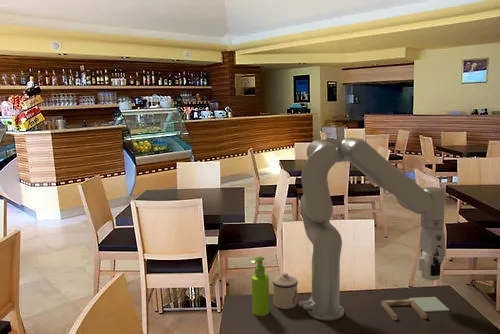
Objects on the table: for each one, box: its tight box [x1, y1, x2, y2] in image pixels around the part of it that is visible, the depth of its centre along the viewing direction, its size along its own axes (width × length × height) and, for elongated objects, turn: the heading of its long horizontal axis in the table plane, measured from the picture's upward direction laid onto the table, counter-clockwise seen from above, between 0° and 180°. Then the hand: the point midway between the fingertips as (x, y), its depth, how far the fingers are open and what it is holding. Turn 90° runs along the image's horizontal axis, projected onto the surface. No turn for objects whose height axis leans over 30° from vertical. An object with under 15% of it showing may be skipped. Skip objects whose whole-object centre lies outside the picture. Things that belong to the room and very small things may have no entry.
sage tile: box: [408, 296, 450, 313], centre depth 149 cm, size 10×10×1 cm
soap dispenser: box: [250, 256, 270, 317], centre depth 145 cm, size 6×7×20 cm
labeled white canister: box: [416, 251, 441, 281], centre depth 147 cm, size 6×8×9 cm
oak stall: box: [380, 298, 428, 321], centre depth 144 cm, size 11×11×2 cm
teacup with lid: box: [272, 272, 299, 310], centre depth 153 cm, size 12×9×12 cm
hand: (430, 271), depth 147 cm, fingers closed on labeled white canister, 6 cm apart
